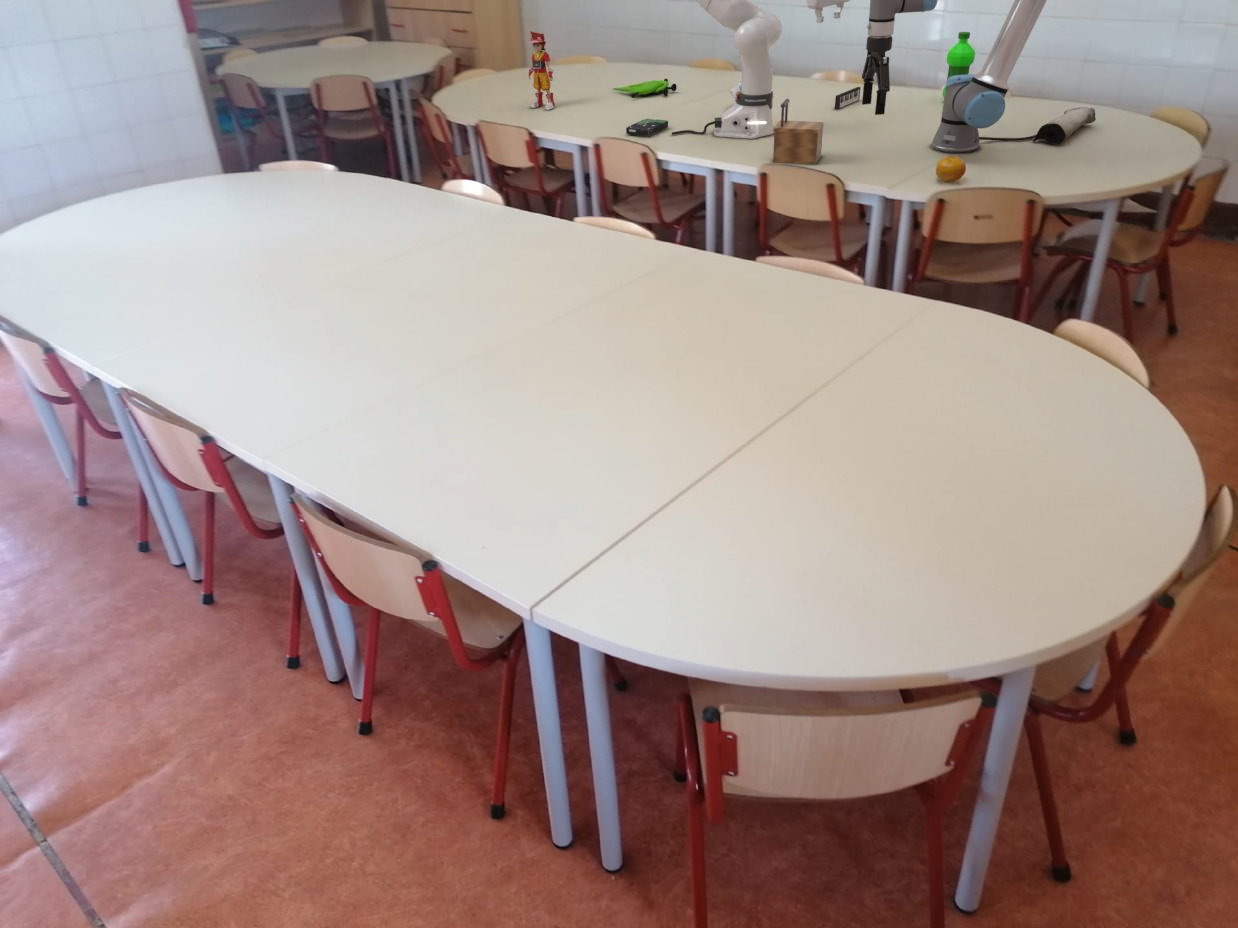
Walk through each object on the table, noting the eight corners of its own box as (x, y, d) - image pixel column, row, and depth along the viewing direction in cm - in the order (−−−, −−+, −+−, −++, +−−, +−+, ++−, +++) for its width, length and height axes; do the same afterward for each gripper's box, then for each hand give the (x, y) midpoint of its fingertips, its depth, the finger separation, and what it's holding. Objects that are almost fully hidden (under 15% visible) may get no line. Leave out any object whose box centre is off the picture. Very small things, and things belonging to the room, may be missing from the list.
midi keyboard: (837, 109, 355) (838, 96, 352) (834, 109, 355) (835, 95, 352) (859, 100, 365) (860, 87, 362) (856, 99, 366) (858, 86, 363)
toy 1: (525, 109, 381) (517, 32, 364) (534, 104, 388) (527, 28, 371) (550, 110, 377) (543, 32, 360) (559, 105, 384) (553, 28, 367)
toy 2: (686, 85, 398) (631, 84, 414) (685, 72, 395) (629, 72, 411) (651, 104, 381) (596, 103, 397) (650, 92, 378) (594, 91, 394)
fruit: (930, 172, 274) (947, 148, 271) (931, 174, 281) (947, 151, 278) (953, 187, 272) (970, 164, 269) (953, 189, 280) (970, 166, 277)
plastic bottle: (973, 101, 354) (984, 32, 339) (955, 106, 349) (966, 36, 335) (952, 97, 361) (962, 29, 346) (934, 102, 356) (944, 33, 342)
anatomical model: (726, 82, 366) (750, 75, 366) (730, 107, 372) (754, 101, 372) (732, 90, 354) (757, 83, 353) (737, 117, 360) (761, 110, 359)
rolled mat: (1061, 112, 323) (1087, 94, 314) (1075, 133, 323) (1101, 116, 315) (1028, 135, 305) (1054, 117, 297) (1043, 158, 306) (1070, 140, 298)
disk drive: (649, 138, 335) (668, 127, 345) (649, 130, 333) (668, 120, 343) (625, 135, 340) (645, 125, 350) (625, 127, 338) (645, 117, 348)
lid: (773, 131, 297) (774, 104, 292) (779, 124, 304) (780, 97, 300) (817, 133, 292) (819, 106, 288) (823, 126, 300) (825, 98, 295)
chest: (772, 162, 303) (774, 132, 297) (779, 154, 310) (780, 124, 304) (815, 164, 298) (817, 133, 292) (821, 156, 305) (823, 126, 300)
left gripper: (842, -31, 297) (838, 15, 304) (805, -24, 285) (802, 24, 293) (858, -30, 293) (854, 16, 301) (821, -23, 282) (817, 26, 289)
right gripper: (855, 30, 282) (849, 101, 294) (880, 44, 262) (873, 120, 274) (879, 28, 282) (872, 99, 294) (906, 42, 262) (897, 118, 274)
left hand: (828, 20), depth 297 cm, fingers open, 8 cm apart
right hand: (872, 109), depth 284 cm, fingers open, 13 cm apart
